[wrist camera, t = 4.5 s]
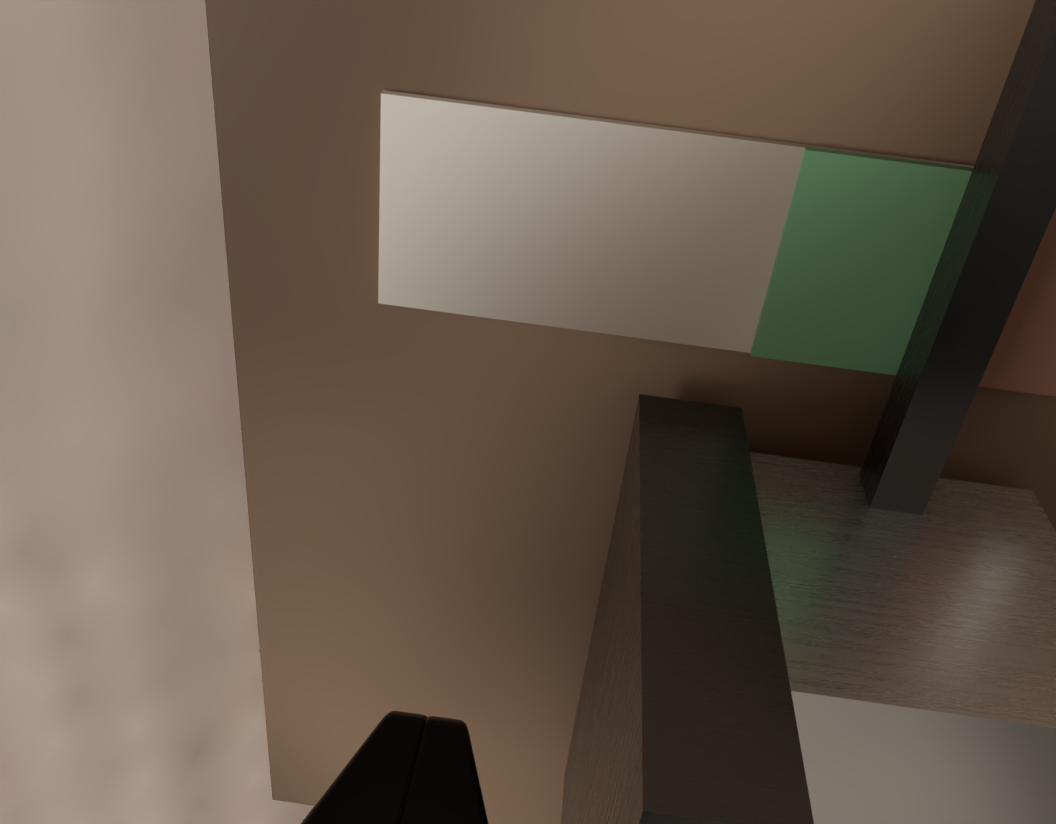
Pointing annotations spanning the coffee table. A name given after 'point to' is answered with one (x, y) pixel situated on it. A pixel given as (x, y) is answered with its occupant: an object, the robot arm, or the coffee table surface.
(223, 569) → the coffee table surface
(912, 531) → the gauge carriage
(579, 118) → the gauge stand
